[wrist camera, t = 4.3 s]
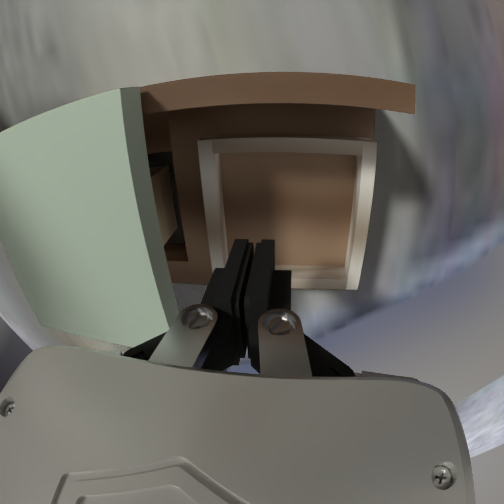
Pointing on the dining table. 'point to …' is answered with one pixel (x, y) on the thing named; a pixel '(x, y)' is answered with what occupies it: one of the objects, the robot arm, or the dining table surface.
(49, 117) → the sliding cover
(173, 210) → the beech block
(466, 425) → the dining table surface
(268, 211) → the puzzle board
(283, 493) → the robot arm
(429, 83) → the dining table surface
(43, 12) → the dining table surface
